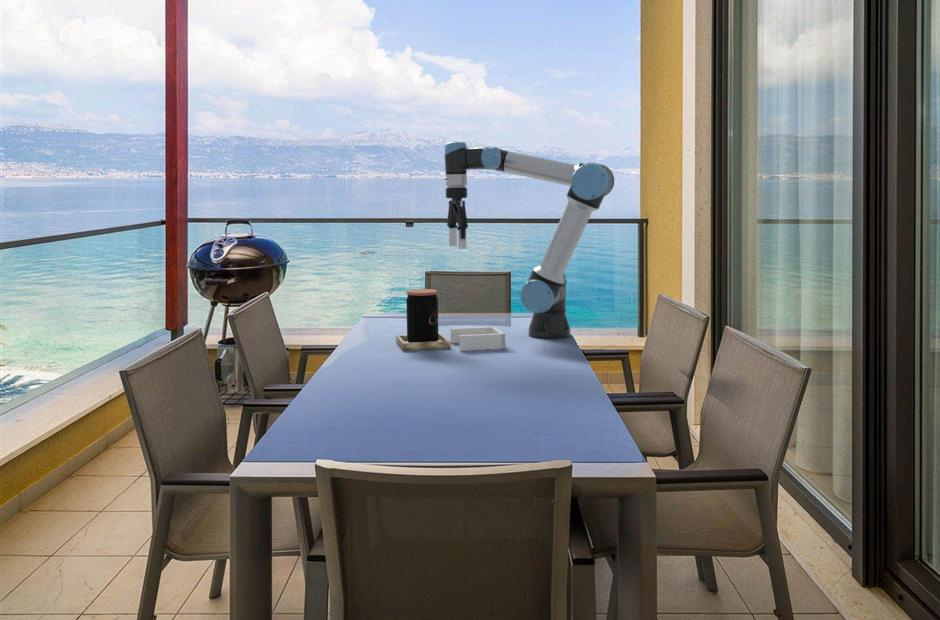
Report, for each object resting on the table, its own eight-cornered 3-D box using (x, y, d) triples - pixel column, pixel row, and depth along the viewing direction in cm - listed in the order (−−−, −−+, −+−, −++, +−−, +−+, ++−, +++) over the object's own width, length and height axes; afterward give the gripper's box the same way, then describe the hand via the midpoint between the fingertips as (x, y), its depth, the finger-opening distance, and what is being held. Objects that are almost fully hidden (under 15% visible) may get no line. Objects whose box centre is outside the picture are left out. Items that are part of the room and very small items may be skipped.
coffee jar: (434, 346, 284) (433, 293, 281) (403, 345, 286) (402, 292, 283) (441, 340, 294) (441, 289, 292) (411, 339, 296) (411, 288, 294)
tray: (441, 340, 300) (441, 333, 299) (450, 348, 284) (450, 341, 284) (396, 342, 296) (396, 335, 296) (403, 351, 281) (402, 343, 280)
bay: (493, 340, 299) (493, 326, 298) (505, 348, 284) (505, 333, 283) (450, 342, 295) (450, 328, 294) (460, 350, 280) (460, 336, 280)
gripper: (438, 187, 309) (439, 245, 312) (454, 186, 286) (455, 250, 289) (458, 186, 311) (459, 244, 314) (475, 186, 287) (477, 249, 290)
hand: (457, 247), depth 301 cm, fingers open, 13 cm apart
